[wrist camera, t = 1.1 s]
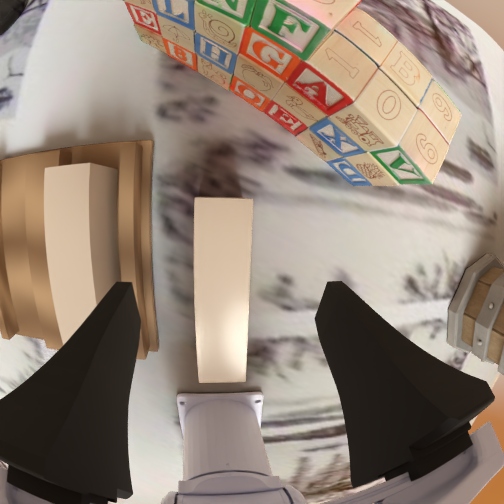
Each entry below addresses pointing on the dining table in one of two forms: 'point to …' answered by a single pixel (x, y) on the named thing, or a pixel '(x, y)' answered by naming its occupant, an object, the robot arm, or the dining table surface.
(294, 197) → the dining table surface
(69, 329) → the cream long block
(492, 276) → the tankard
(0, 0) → the supplement bottle
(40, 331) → the rack
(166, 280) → the dining table surface
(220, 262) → the beige rectangular block
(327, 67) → the stack of blocks
